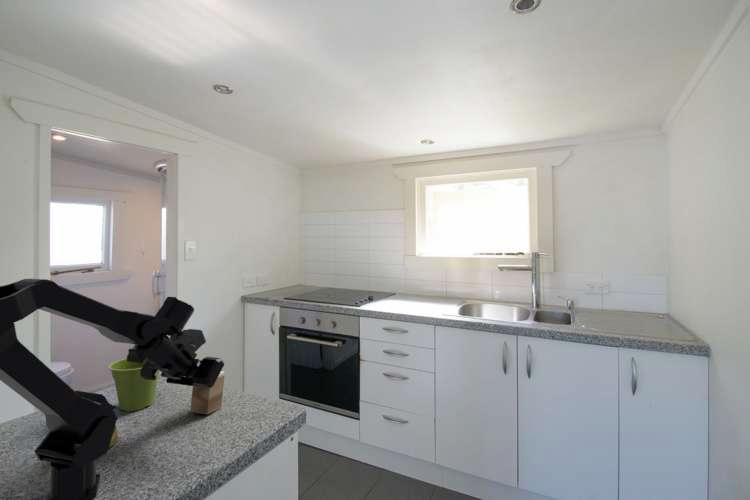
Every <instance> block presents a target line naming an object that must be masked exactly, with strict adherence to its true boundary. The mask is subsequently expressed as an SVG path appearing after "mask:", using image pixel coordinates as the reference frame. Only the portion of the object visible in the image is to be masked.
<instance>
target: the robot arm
mask: <svg viewBox="0 0 750 500" xmlns="http://www.w3.org/2000/svg"><path fill="white" fill-rule="evenodd" d="M37 310H40V311H43V312H46V313H50V314H52V315H55V316H58V317H61V318H64V319H67V320H69V321H73V322H76V323H80V324H83V325H85V326H89V327H91V328H93V329H95V330H97V331H98V332H99V333H100V335H102V336H103V337H105V338H107V339H109V340H110V341H112V342H114V343H121V344H130V345H133V347H132V348H129V349H128V350H127V351H128V354H127V356H126V358H127V362H134V363H143V361H144V360H147V361H146V363H145V364H144V366H143V367H142V369H141V370H140V376H142V377H143V378H144V379H147V380H155V379H156V376H155V373H156V371H157V370H160V371H159V372H161V374H160V376H161V377H162V378H166V380H165V381H166V383H167V384H174V385H182V386H186V387H187V386H188V387H193V386H199V387H205V388H211V387H213V386H214V384H215V382H216V380H217V378H218V376H219V374H220V372H221V371H222V370H223V368H224V367H225V363H224V360H222V358H220V357H213V356H206V357H203V358H202V360H201V359H200V358H196V357H197V356H198V354H197V353H196V352H197V351H198V350H199V349H200V348H202V346H203V345H206V342H207V340H206V338H205V335H204V332H203V330H202V329H195V328H188V329H185V327H186V325H187V324H188V322H189V320H190V318H191V317H192V315H193V314H194V312H195V308H194V307H193V305H191V304H189V303H187V302H185V301H183V300H180V299H178V298H177V297H176V296H167V297H166V298H165V300H164V302H163V304H162V305H161V307H160V308H159V310H158V311H157V312H156V314H155V315H152V314H148V313H144V312H143V313H141V312H137V311H130V310H123V309H119V308H115V307H113V306H111V305H108V304H106V303H103V302H101V301H98V300H96V299H93V298H91V297H89V296H86V295H84V294H81V293H78V292H76V291H74V290H71V289H69V288H66V287H63V286H61V285H59V284H57V283H56V282H55V281H54V280H52V279H51V280H50V279H47V278H46V279H44V278H23V279H21V280H17V281H14V282H11V283H9V284H4V285H0V381H1V382H2V383H3V384H5V385H6V386H8V388H10V389H11V390H12V391H14V392H15V393H17V394H18V395H19V396H21V398H23V399H24V400H25V401H27V403H30V404H31V405H32V406H33V407H35V408H36V409H37V410H38V411H40V412H41V413H42V414H43V415H44V417H45V422H46V427H47V428H48V429H49V431H48V433H47V434H46V436H45V437H44V438H43V439H42V441H41V442H40V444H39V445H38V446H37V447H36V449H35V450H34V453H35V456H36V457H37V460H38V461H41V462H43V461H44V462H48V463H49V479H50V480H49V492H48V495H47V498H46V499H45V500H94V499H95V498H96V497H97V495H98V490H99V485H100V481H101V474H100V473H97V471H96V469H97V463H96V462H97V460H98V459H99V458H102V457H103V456H104V455H106V454H108V451H109V448H110V447H109V445H110V442H111V439H112V436H113V432H114V429H115V426H117V420H118V417H119V416H118V414H117V413H116V411H115V409H117V406H116V405H112V404H111V403H110V402H109V400H108V399H107V398H106V396H105V395H103V394H101V393H96V392H88V391H82V390H74V389H73V388H72V387H71V386H70V385H68V383H66V382H65V381H64V380H63V379H62V378H61V377H60V376H58V375H57V374H56V373H55V372H54V371H53V370H52V369H50V367H49V366H47V365H46V364H45V363H44V362H43V360H41V359H39V358H38V356H36V355H35V354H34V353H33V352H32V351H30V349H28V348H27V347H26V346H25V345H24V344H23V343H22V342H21V341H20V340H19V339H18V336H17V335H18V334H17V331H16V330H17V329H16V325H15V323H16V322H20V321H22V320H24V319H25V318H27V317H28V316H30V315H31V314H33V313H34V312H36V311H37ZM96 473H97V474H96Z"/></svg>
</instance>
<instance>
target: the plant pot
mask: <svg viewBox="0 0 750 500" xmlns="http://www.w3.org/2000/svg"><path fill="white" fill-rule="evenodd" d="M146 361H147V360H144V361H143V363H134V362H127V357H126V358H123V359H119V360H116V361H114V362H112V363H110V364H109V365H108V366H107V367H108V370H110V372H111V376H112V379H113V382H114V385H115V391H116V395H117V400H118V404H119V405H118V406H119V409H120V410H121V411H124V412H134V411H140V410H143V409H145V408H146V407H150V406H151V405H153V404H154V402H155V397H156V390H157V387H158V386H157V385H158V378H159V375H160V372H161V371H160V370H157V371H156V373H155V376H156V379H155V380H147V379H144V378H143V377H142V376H140V370H141V369H142V367H143V366H144V364H145V363H146Z"/></svg>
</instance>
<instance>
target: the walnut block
mask: <svg viewBox="0 0 750 500" xmlns="http://www.w3.org/2000/svg"><path fill="white" fill-rule="evenodd" d="M225 372H226V371H222V370H221V372H220V374H219V376H218V378H217V380H216V382H215V384H214V386H213V387H211V388H205V387H199V386H192V389H191V391H192V392H191V398H190V409H189V412H190V413H195V414H201V415H202V414H203V415H209V414H212V413H214V412H215V411H218V410H220V409H222V405H223V404H222V403H223V393H224V386H225V385H224V384H225V383H224V382H225V374H226V373H225Z"/></svg>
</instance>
